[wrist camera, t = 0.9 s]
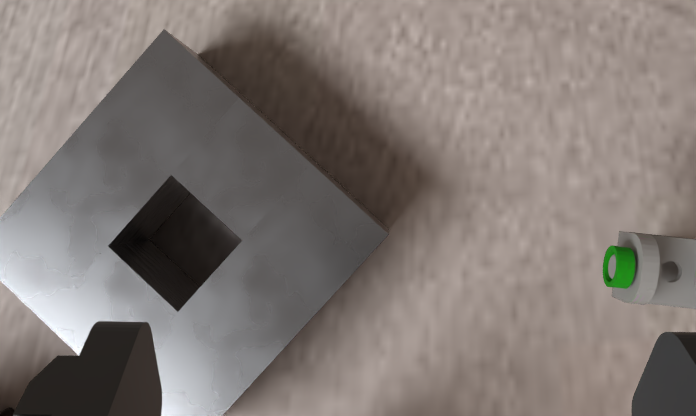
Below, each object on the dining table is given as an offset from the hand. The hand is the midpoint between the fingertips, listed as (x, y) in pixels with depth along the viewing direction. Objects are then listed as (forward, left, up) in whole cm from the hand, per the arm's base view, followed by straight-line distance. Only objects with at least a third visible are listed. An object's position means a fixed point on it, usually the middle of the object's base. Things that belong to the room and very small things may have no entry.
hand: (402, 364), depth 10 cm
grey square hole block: (+6, -8, -23) cm, 26 cm away
